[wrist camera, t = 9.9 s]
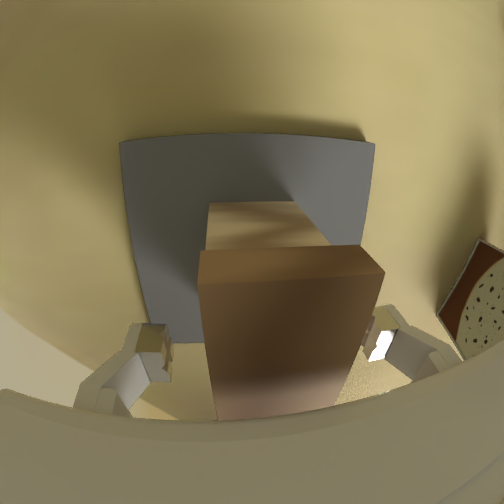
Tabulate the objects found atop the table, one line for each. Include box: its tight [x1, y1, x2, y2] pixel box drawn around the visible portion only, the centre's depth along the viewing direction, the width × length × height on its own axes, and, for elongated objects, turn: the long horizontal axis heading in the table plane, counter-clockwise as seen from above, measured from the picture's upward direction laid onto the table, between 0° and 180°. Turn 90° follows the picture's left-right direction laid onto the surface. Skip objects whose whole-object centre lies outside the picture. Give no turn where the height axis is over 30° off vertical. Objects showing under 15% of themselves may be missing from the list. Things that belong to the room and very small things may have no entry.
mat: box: [119, 133, 375, 343], centre depth 16 cm, size 14×14×1 cm
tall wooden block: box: [197, 201, 385, 420], centre depth 12 cm, size 5×9×9 cm, turn 179°
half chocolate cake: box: [436, 238, 504, 361], centre depth 17 cm, size 12×6×10 cm, turn 163°
